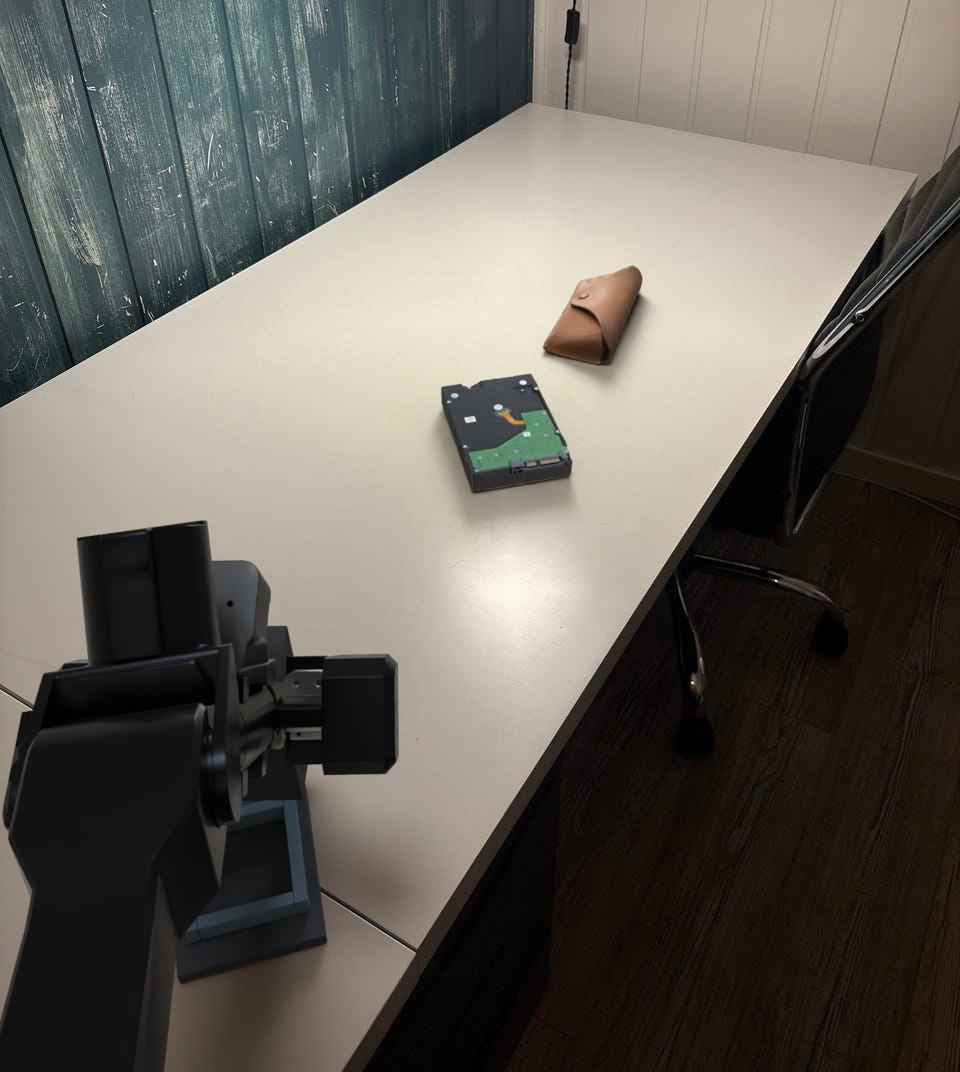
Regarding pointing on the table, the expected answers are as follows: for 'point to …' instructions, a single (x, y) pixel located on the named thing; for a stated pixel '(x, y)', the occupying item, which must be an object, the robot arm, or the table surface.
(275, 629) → the dark grey square block
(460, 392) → the disk drive
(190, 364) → the table surface
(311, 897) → the base pad
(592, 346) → the sunglasses case
